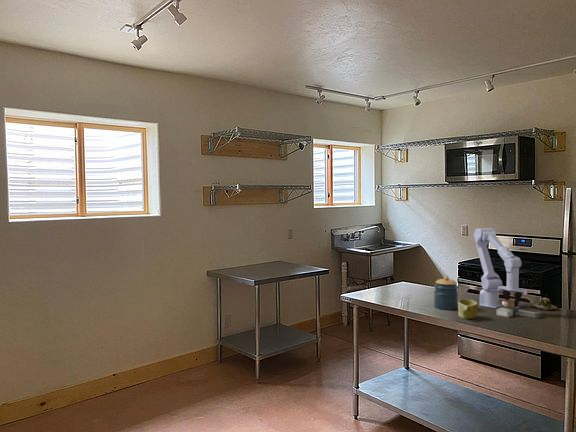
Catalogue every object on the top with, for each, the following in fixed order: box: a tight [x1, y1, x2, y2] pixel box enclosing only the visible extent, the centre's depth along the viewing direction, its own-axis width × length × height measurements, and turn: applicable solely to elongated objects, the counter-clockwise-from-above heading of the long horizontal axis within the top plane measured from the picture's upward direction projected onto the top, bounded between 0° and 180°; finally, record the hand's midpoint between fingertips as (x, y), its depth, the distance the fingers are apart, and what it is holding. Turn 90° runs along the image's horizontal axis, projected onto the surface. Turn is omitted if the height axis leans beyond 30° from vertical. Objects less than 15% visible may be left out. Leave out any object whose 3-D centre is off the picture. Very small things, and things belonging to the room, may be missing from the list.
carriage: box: [505, 298, 520, 315], centre depth 241 cm, size 5×6×7 cm
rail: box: [500, 306, 542, 319], centre depth 238 cm, size 18×5×3 cm, turn 42°
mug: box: [457, 298, 479, 320], centre depth 233 cm, size 12×10×10 cm
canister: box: [433, 275, 460, 311], centre depth 253 cm, size 13×13×18 cm
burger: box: [531, 295, 558, 312], centre depth 250 cm, size 12×12×8 cm
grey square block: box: [495, 307, 514, 318], centre depth 237 cm, size 6×6×3 cm
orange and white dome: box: [501, 300, 508, 307], centre depth 236 cm, size 3×3×2 cm
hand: (512, 305), depth 241 cm, fingers closed on carriage, 4 cm apart
